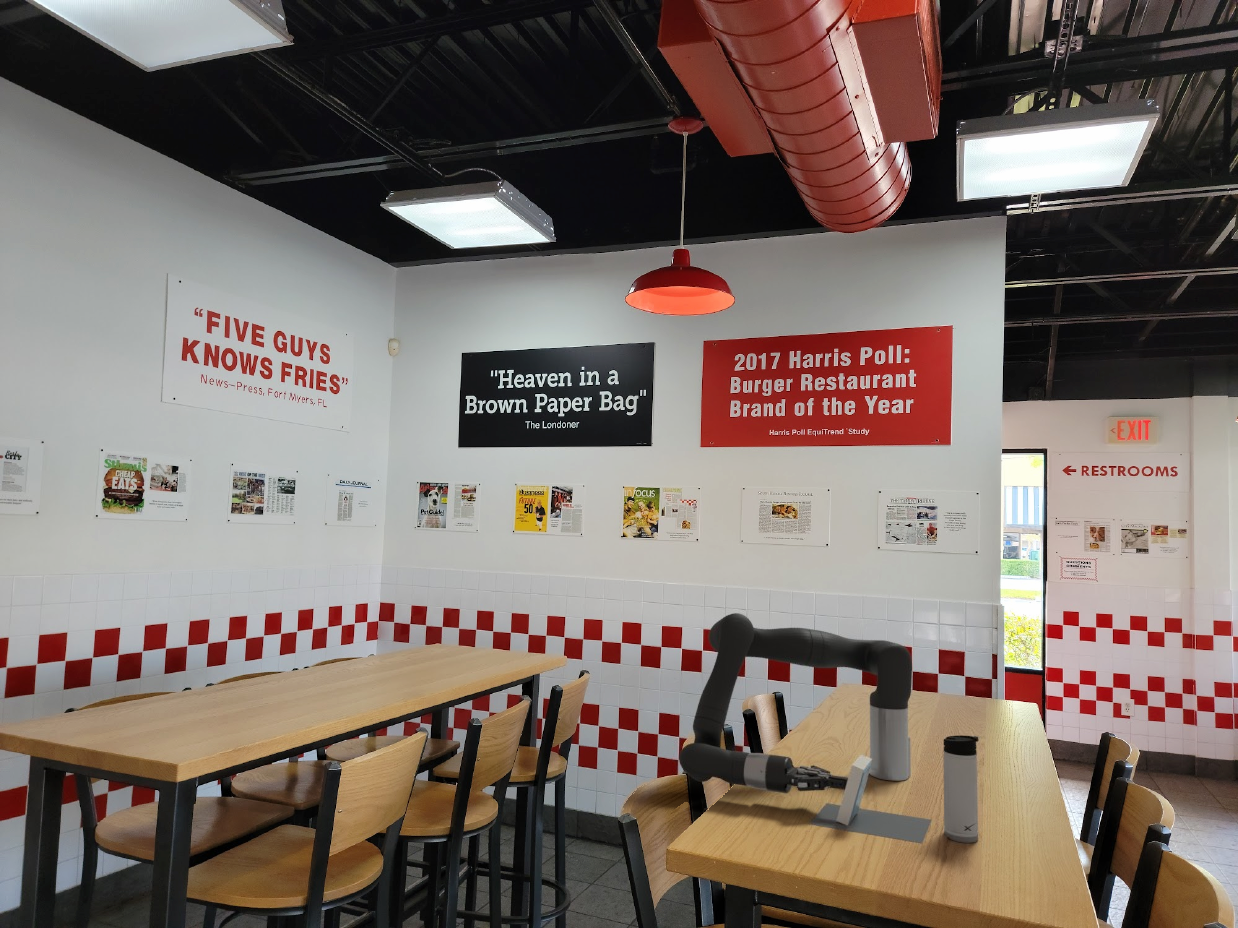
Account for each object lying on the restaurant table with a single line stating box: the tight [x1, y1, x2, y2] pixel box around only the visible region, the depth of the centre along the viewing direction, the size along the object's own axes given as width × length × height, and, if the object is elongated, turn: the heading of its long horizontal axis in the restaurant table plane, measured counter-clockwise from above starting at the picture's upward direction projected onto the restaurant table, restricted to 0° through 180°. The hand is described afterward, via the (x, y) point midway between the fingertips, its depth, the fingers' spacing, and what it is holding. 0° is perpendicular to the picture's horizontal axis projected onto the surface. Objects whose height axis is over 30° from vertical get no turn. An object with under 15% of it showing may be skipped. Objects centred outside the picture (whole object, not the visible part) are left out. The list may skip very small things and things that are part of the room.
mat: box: [808, 802, 932, 844], centre depth 176 cm, size 22×16×1 cm
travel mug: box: [942, 734, 979, 844], centre depth 170 cm, size 6×7×20 cm
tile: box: [836, 754, 872, 826], centre depth 178 cm, size 3×10×12 cm, turn 153°
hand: (848, 783), depth 179 cm, fingers closed
